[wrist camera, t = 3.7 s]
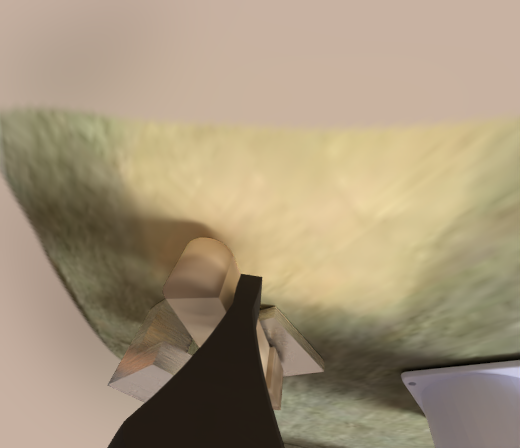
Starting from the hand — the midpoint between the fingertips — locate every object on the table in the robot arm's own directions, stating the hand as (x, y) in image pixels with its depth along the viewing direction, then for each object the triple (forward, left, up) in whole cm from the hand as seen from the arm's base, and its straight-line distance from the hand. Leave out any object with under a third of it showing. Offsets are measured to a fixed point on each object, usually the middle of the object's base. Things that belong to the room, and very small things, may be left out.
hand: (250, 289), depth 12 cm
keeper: (-2, +7, -2) cm, 8 cm away
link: (-3, +3, -1) cm, 5 cm away
